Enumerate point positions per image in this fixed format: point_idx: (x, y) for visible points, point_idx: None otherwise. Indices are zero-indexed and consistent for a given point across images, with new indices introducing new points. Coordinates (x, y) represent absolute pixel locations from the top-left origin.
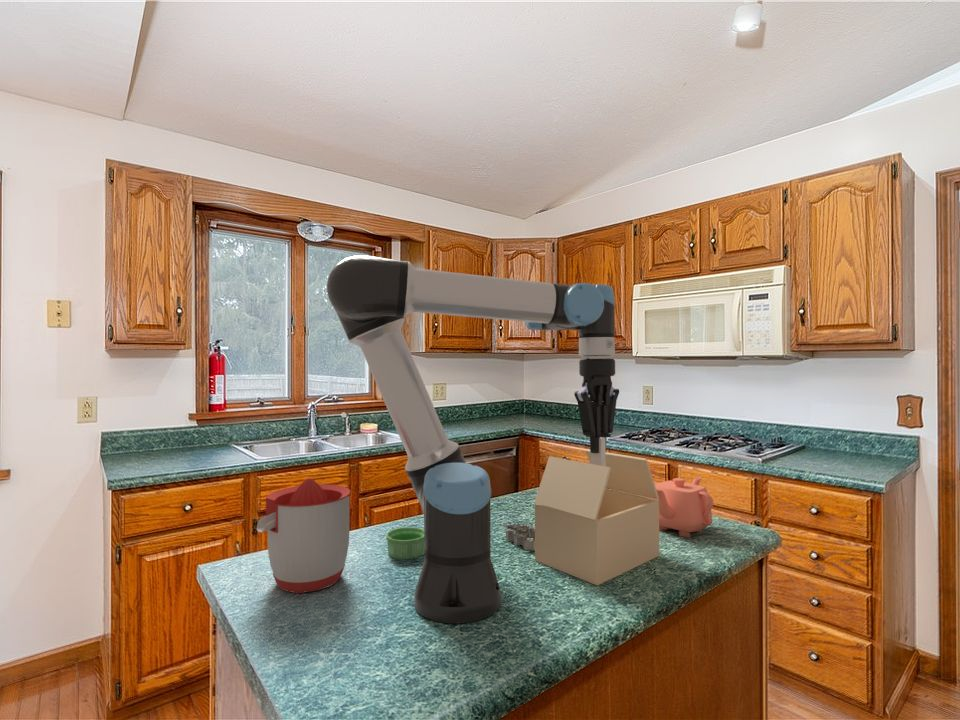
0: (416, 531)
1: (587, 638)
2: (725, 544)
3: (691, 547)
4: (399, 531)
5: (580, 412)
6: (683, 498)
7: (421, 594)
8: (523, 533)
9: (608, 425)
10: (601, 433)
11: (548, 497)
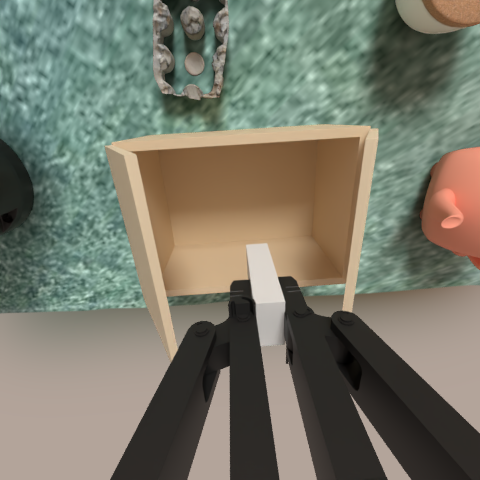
0: None
1: (84, 310)
2: (420, 266)
3: (379, 246)
4: None
5: (127, 457)
6: (468, 244)
7: None
8: (187, 33)
9: (341, 374)
10: (287, 342)
11: (117, 189)
